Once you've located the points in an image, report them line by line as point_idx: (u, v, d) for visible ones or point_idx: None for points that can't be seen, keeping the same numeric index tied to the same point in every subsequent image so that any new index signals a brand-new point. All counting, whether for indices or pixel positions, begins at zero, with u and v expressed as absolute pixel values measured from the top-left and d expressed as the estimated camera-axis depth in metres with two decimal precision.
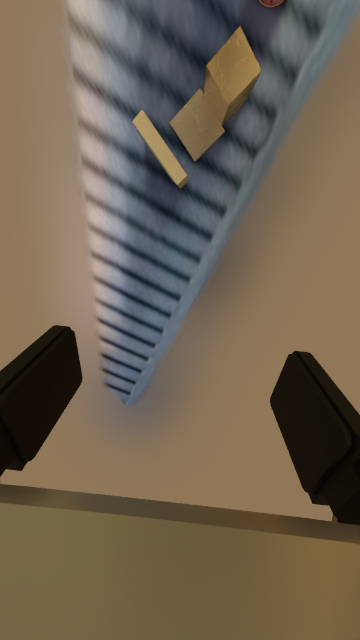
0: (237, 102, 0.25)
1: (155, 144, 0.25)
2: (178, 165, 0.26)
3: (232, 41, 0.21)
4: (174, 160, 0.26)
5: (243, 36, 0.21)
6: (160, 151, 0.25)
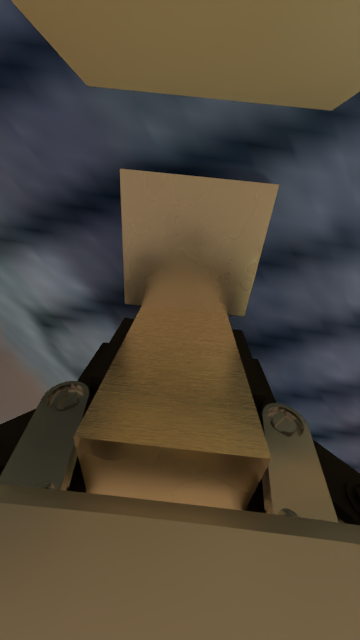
0: None
1: None
2: None
3: None
4: None
5: None
6: None
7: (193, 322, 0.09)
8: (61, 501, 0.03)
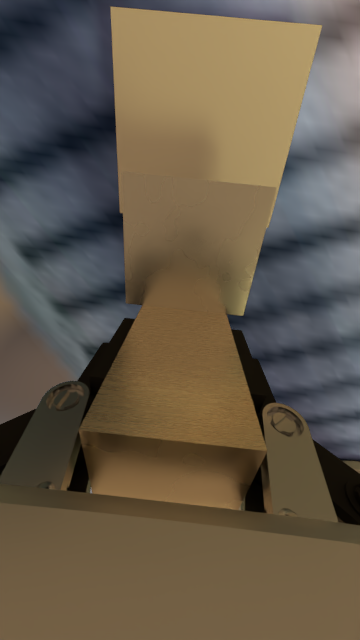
0: None
1: None
2: (149, 13, 0.08)
3: None
4: (167, 17, 0.08)
5: None
6: None
7: (193, 321, 0.09)
8: (61, 501, 0.03)
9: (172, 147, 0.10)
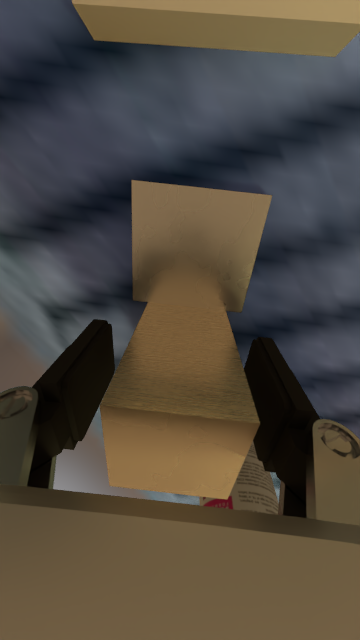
0: None
1: None
2: None
3: (222, 481, 0.07)
4: None
5: (204, 495, 0.07)
6: None
7: (195, 317, 0.10)
8: (61, 501, 0.03)
9: None
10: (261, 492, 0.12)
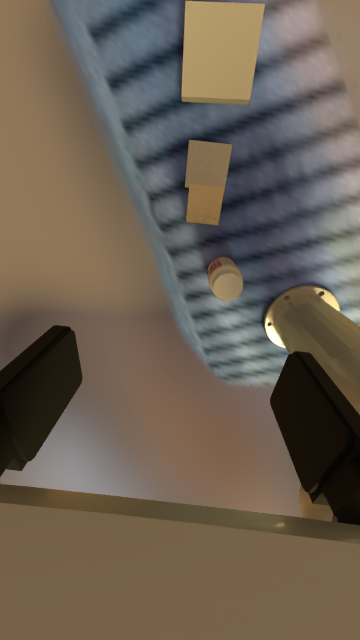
0: None
1: None
2: (199, 2, 0.22)
3: (216, 215, 0.26)
4: (206, 3, 0.22)
5: (211, 223, 0.26)
6: None
7: None
8: (61, 501, 0.03)
9: (206, 60, 0.23)
10: (232, 264, 0.31)
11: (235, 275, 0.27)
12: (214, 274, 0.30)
